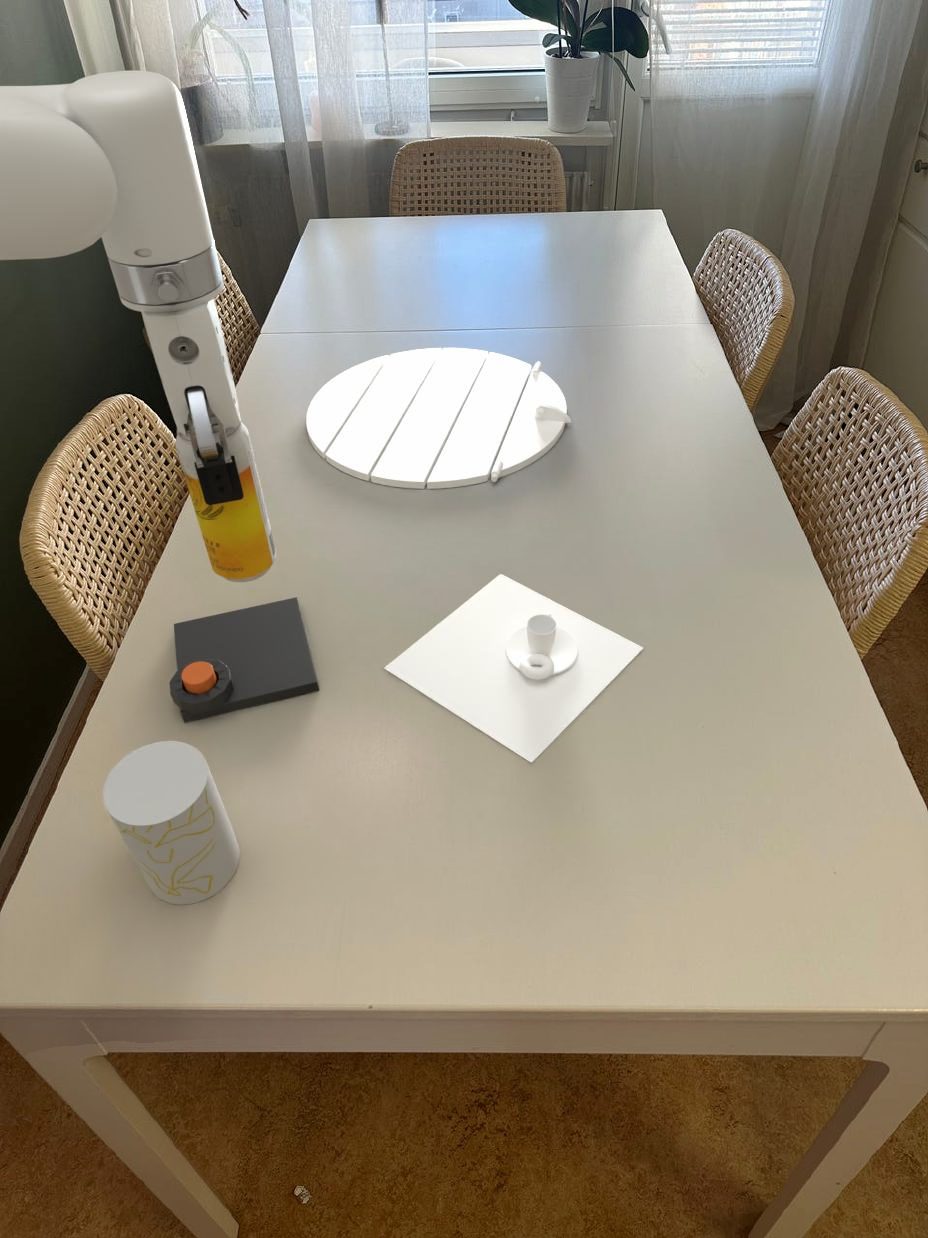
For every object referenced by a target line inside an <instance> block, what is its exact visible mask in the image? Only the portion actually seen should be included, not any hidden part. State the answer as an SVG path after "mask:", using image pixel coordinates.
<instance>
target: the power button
mask: <svg viewBox="0 0 928 1238" xmlns="http://www.w3.org/2000/svg"><path fill="white" fill-rule="evenodd" d="M181 677H182V680H183V683H184V686H185V688H186V690H187V691H188V692H190V693H192V694H202V693H205V692H208V691H209V690H211V689H212V688H213V687H214V686H215V684H216V675H215V672H214V669H213V667H212V665H210V664H209V663H207V662H195V663H192V664H190V665H188V666H187V667H186V668H185V669H184V670H183V672H182V675H181Z"/></svg>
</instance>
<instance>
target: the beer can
mask: <svg viewBox="0 0 928 1238" xmlns="http://www.w3.org/2000/svg"><path fill="white" fill-rule="evenodd" d="M210 421H211V424H215V423H218V422H217V417H210ZM192 425H193V427H194V423H193V420H192ZM225 433H226V438H227V442H228V446H229V450H230V455H231V456H234V457H235V461H236V465H237V469H238V473H239V477H240V481H241V485H242V489H243V494H244V497H243V499H241V500H236V501H231V502H225V503H220V504H214V505H207V504H206V503H205V500H204V496H203V493H202V489H201V486H200V482H199V479H198V475H197V472H196V468H195V464H194V462H196V461H195V457H194V452H193V448H192V444H191V440H190V436H189V434H188V436H185V435H183V434H182V433H180V432H179V431H178V428H177V427H176V439H175V443H174V444H175V445H174V446H175V449H176V453H177V456H178V459H179V463H180V466H181V469H182V472H183V476H184V479H185V482H186V485H187V486H186V487H187V488H188V489H187V490H188V492H189V496H190V499H191V503H192V506H193V510H194V513H195V516H196V519H197V522H198V523H197V524H198V526H199V529H200V532H201V537H202V540H203V542H204V547H205V549H206V552H207V556H208V559H209V563H210V566H211V569H212V571H213V572H214V573H215V574H216V575H217V576H219V577H221V578H223V579H224V580H226V581H229V582H231V583H248V582H252V581H256V580H258V579H260V578H262V577H264V576H265V575H266V574H267V573H269V571H270V570H271V568H272V566H273V564H274V563H275V561H276V558H277V549H276V545H275V541H274V537H273V533H272V528H271V523H270V519H269V516H268V515H269V514H268V511H267V506H266V503H265V498H264V493H263V488H262V484H261V480H260V477H259V472H258V467H257V463H256V458H255V455H254V450H253V446H252V445H253V444H252V440H251V437H250V432H249V430H248V428H247V426H246V425H245V424H244V423H243V421H241V422H240V424H239V426H238V427H237V428H234V427H229V428H225ZM213 435H214V439H215V442H216V443H218V442H219V444H220V445H221V443H220V439H219V434H218V432H217V433H213Z"/></svg>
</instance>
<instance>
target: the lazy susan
mask: <svg viewBox="0 0 928 1238" xmlns="http://www.w3.org/2000/svg"><path fill="white" fill-rule="evenodd" d="M542 367H543V363H542V362H541V361H537V362H535V364H534V365H533V367H532V365H531V364H530V363H528V362H525V361H523V360H520V359H518V358H515V357H512V356H508V355H505V354H502V353H498V352H493V351H490V352H489V351H488V350H482V349H473V348H465V347H443V348H442V347H431V348H417V349H412V350H405V351H399V352H394V353H391V354H390V355H389V354H385V355H381V356H378V357H375V358H372V359H369V360H366V361H363V362H361V363H359V364H356V365H353V366H352V367H350V368H348V369H345V370H344V371H342V372H341V373H339V374H337V375H336V376H334V377H333V378H331V379H330V380H329V381H328V382H326V383H325V384H323V386H322V387H321V388H320V389H319V390H318V391H317V392H316V394H315V395H314V396H313V398H312V399H311V401H310V403H309V405H308V408H307V411H306V415H305V426H306V430H307V437H308V439H309V442H310V444H311V445H312V447H313V449H314V450H315V452H316V453H317V454H318V455H319V456H320V458H322V459H323V460H325V461H326V462H327V464H329V465H331V466H333V467H334V468H336V469H337V470H339V471H341V472H343V473H345V474H347V475H349V476H351V477H355V478H357V479H360V480H362V481H366V482H369V481H370V482H371V483H374V484H378V485H383V486H387V487H394V488H401V489H404V488H405V489H416V490H417V489H418V490H425V488H426V489H427V490H436V489H439V490H440V489H451V488H460V487H465V486H466V487H467V486H472V485H477V484H481V483H485V482H488V481H489V478H490V481H491V482H493V483H496V482H497V481H498V479H499V478H502V477H505V476H508V475H511V474H513V473H516V472H518V471H520V470H522V469H524V468H526V467H528V466H530V465H531V464H533V463H535V462H536V461H538V460H539V459H540V458H541V457H543V456H544V455H546V453H548V452H549V451H550V450H551V449H552V448H553V447H554V446H555V445H556V444H557V442H558V441H559V439H560V438H561V436H562V434H563V433H564V430H565V426H566V424H571V422H572V419H571V417H570V416H569V415H568V413H567V402H566V398H565V396H564V393H563V391H562V390H561V388H560V387H559V385H558V384H557V383H556V382H555V380H553V379H552V378H551V377H550V376H548V375H547V374H546V373H545V372H543V371H542Z"/></svg>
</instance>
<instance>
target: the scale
mask: <svg viewBox="0 0 928 1238" xmlns="http://www.w3.org/2000/svg"><path fill="white" fill-rule="evenodd" d="M300 607H301V606H300V603H299V599H298V596H295V597H289V598H287V599H286V598H285V599H281V600H277V601H273V602H267V603H263V604H258V605H254V606H249V607H245V608H239V609H236V610H230V611H227V612H222V613H217V614H213V615H208V616H204V617H198V618H194V619H189V620H185V621H181V622H176V623H174V624H173V632H174V646H175V647H174V648H175V658H176V659H175V660H176V671H175V673H174V675H173V676H172V678H171V679H170V680H169V694H170V696H171V699H172V702H173V703H174V705H176V706H177V708H179V710H180V716H181V718H182V721H183V723H184V724H186V723H190V722H194V721H198V720H202V719H207V718H211V717H215V716H219V715H224V714H227V713H233V712H237V711H240V710H243V709H248V708H253V707H257V706H261V705H266V704H270V703H273V702H278V701H282V700H285V699H291V698H294V697H298V696H303V695H307V694H311V693H315V692H319V691H320V687H319V682H318V678H317V674H316V670H315V665H314V662H313V657H312V653H311V648H310V645H309V641H308V636H307V632H306V628H305V624H304V620H303V616H302V612H301V608H300ZM195 662H207V663H209V664H210V665H212V667H213V669H214V672H215V675H216V684H215V686H214V687H213V688H212V689H211V690H209V691H208V692H205V693H202V694H192V693H190V692H188V691H187V690H186V688H185V686H184V683H183V680H182V677H181V675H182V672H183V670H184V669H185V668H186V667H187V666H188V665H190V664H192V663H195Z"/></svg>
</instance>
